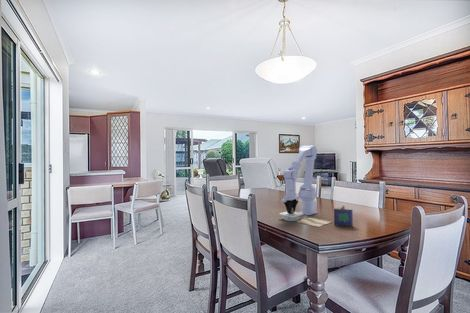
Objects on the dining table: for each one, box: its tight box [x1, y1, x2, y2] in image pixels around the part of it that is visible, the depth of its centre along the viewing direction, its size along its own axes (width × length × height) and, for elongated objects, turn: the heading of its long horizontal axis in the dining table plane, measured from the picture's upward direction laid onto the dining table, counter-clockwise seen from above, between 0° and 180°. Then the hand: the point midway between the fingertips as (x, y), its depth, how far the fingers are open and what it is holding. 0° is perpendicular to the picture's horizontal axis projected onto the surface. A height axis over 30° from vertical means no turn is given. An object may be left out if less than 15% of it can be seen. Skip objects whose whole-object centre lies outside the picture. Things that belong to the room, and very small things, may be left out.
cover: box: [278, 207, 304, 217], centre depth 149 cm, size 10×10×4 cm
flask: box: [333, 205, 354, 227], centre depth 134 cm, size 9×3×11 cm, turn 74°
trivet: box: [295, 216, 333, 228], centre depth 141 cm, size 14×14×1 cm
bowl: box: [282, 215, 300, 222], centre depth 149 cm, size 9×9×3 cm
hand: (291, 212), depth 149 cm, fingers closed on cover, 3 cm apart
